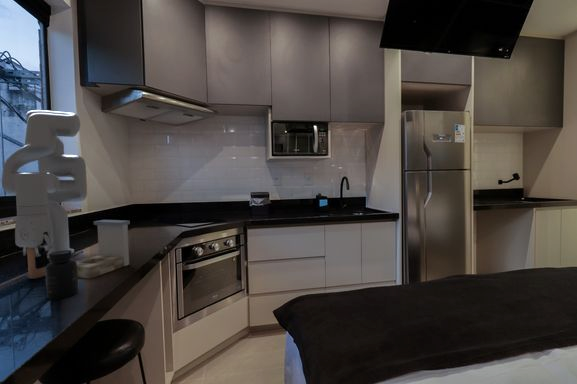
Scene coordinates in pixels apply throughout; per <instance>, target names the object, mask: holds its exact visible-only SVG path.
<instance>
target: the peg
mask: <svg viewBox="0 0 577 384" xmlns="http://www.w3.org/2000/svg"><path fill="white" fill-rule="evenodd" d="M42 245H43V244H41V245H40V246H42ZM42 248H43V247H42ZM42 248H40V250H41V249H42ZM35 257H36V251H35V248H28V247H27V258H28V268H27V271H28V279H32V280H33V279H34V280H35V279H38V278H43V277H44V276H45V277H46V275H45V267H43V268H39V269H36V268H35Z"/></svg>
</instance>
